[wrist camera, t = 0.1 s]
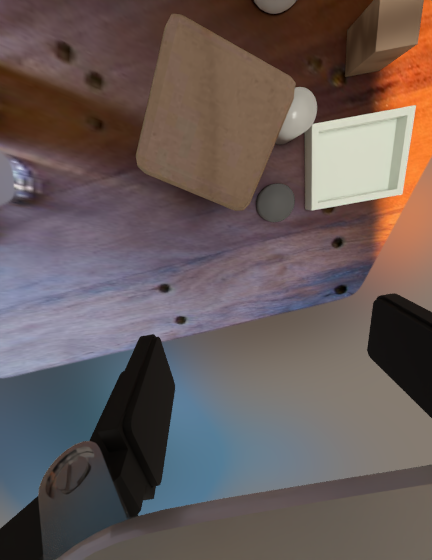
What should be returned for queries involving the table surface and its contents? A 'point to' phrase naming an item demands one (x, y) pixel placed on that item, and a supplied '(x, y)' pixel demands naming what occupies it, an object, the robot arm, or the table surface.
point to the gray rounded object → (275, 202)
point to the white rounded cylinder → (298, 116)
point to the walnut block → (382, 35)
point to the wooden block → (211, 115)
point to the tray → (357, 158)
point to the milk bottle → (274, 5)
